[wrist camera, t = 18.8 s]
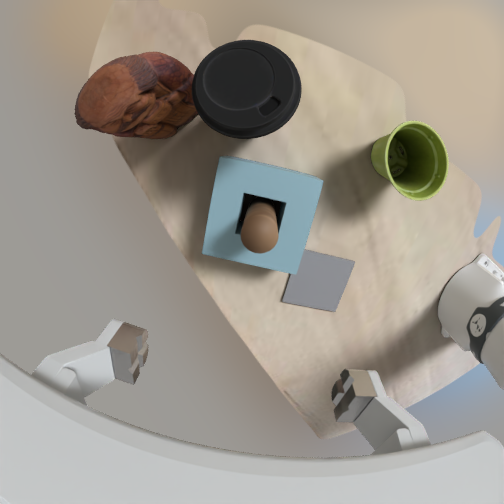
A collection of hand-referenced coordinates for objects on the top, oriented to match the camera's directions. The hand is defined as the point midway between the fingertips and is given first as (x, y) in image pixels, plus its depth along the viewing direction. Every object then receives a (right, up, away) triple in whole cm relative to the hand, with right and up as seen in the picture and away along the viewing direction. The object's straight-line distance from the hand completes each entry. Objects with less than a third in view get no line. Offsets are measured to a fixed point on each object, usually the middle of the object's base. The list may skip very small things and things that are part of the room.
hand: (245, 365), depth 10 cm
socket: (+2, +11, +27) cm, 29 cm away
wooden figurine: (-11, +24, +23) cm, 35 cm away
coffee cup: (0, +23, +22) cm, 32 cm away
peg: (+2, +10, +27) cm, 29 cm away
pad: (+10, 0, +31) cm, 32 cm away
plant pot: (+20, +18, +23) cm, 35 cm away
